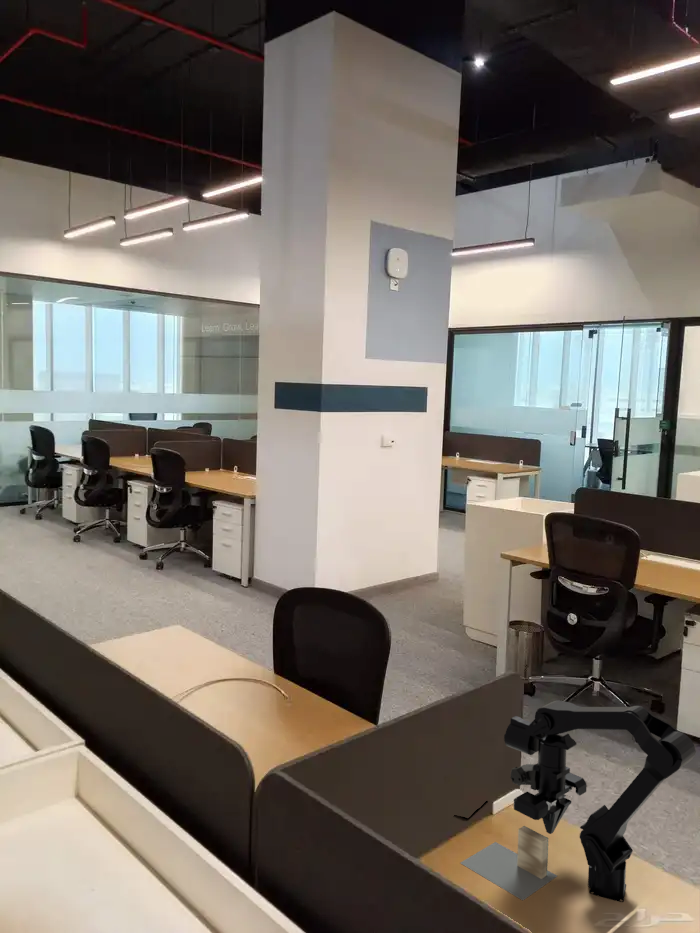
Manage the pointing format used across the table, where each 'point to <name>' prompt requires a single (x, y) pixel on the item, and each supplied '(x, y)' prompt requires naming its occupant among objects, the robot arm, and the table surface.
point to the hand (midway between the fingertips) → (549, 832)
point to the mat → (506, 871)
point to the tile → (532, 852)
